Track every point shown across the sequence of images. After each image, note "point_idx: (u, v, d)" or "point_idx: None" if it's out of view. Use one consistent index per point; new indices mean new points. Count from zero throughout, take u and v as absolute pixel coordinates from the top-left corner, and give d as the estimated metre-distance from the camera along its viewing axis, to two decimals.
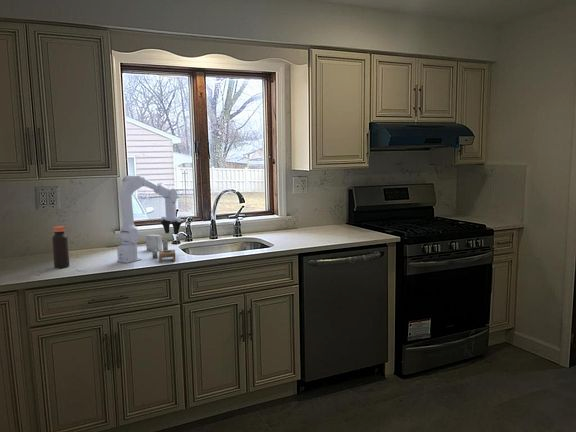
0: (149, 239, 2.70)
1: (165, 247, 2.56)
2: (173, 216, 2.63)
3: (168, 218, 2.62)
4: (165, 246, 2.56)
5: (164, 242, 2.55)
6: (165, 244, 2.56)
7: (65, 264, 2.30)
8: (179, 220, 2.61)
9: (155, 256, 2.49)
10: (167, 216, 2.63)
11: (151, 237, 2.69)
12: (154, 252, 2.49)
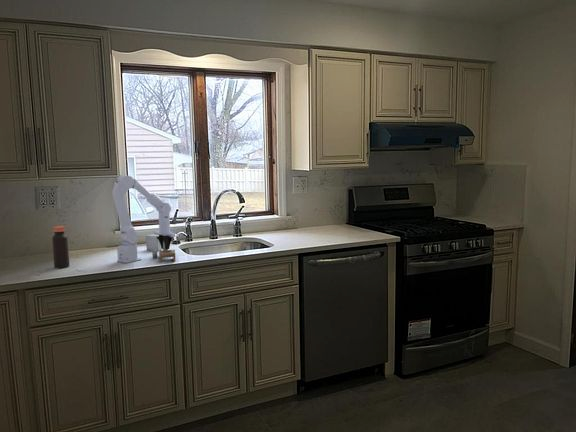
0: (149, 239, 2.70)
1: None
2: (167, 231, 2.54)
3: (162, 233, 2.53)
4: None
5: None
6: None
7: (65, 264, 2.30)
8: (173, 235, 2.52)
9: (155, 256, 2.49)
10: (161, 231, 2.53)
11: (151, 237, 2.69)
12: (154, 252, 2.49)
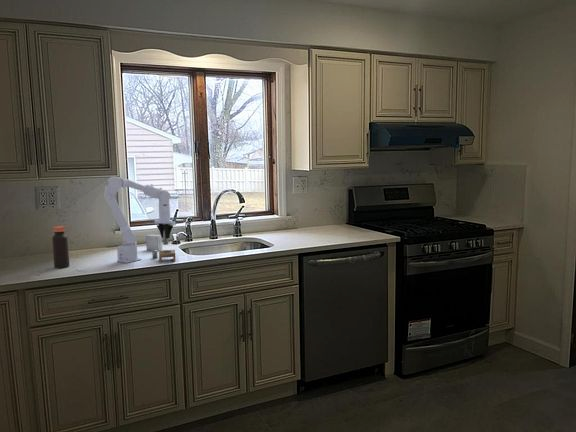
0: (149, 239, 2.70)
1: None
2: (167, 219, 2.48)
3: (162, 221, 2.47)
4: None
5: (164, 231, 2.50)
6: None
7: (65, 264, 2.30)
8: (173, 223, 2.46)
9: (155, 256, 2.49)
10: (161, 219, 2.48)
11: (151, 237, 2.69)
12: (154, 252, 2.49)
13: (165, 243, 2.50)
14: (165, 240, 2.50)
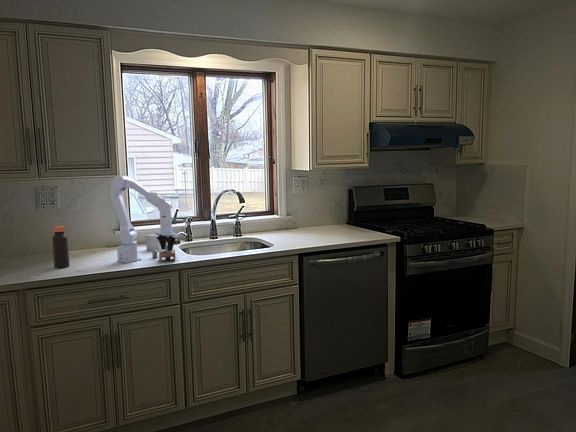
0: (149, 239, 2.70)
1: None
2: (168, 231, 2.41)
3: (163, 233, 2.40)
4: (167, 251, 2.43)
5: (166, 247, 2.43)
6: (167, 249, 2.43)
7: (65, 264, 2.30)
8: (175, 235, 2.39)
9: (155, 256, 2.49)
10: (162, 231, 2.40)
11: (151, 237, 2.69)
12: (154, 252, 2.49)
13: (167, 259, 2.43)
14: None
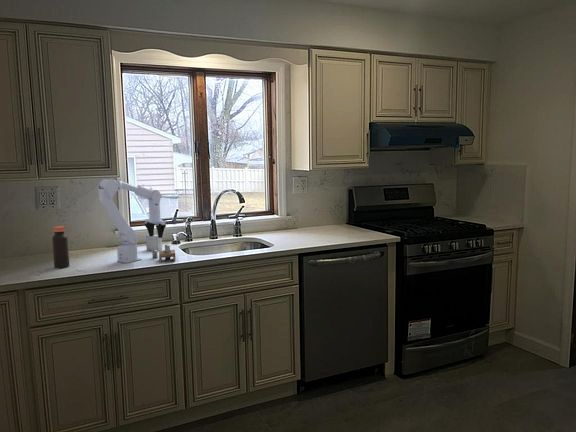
0: (149, 239, 2.70)
1: None
2: (157, 218, 2.51)
3: (152, 221, 2.50)
4: (167, 251, 2.43)
5: (166, 246, 2.43)
6: (167, 249, 2.43)
7: (65, 264, 2.30)
8: (163, 223, 2.49)
9: (155, 256, 2.49)
10: (151, 218, 2.51)
11: (151, 237, 2.69)
12: (154, 252, 2.49)
13: (167, 259, 2.43)
14: None
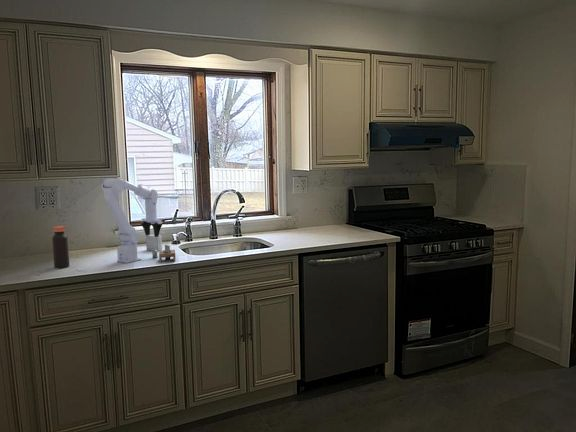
0: (149, 239, 2.70)
1: None
2: (153, 218, 2.54)
3: (148, 220, 2.54)
4: (167, 251, 2.43)
5: (166, 246, 2.43)
6: (167, 249, 2.43)
7: (65, 264, 2.30)
8: (159, 222, 2.52)
9: (155, 256, 2.49)
10: (147, 218, 2.54)
11: (151, 237, 2.69)
12: (154, 252, 2.49)
13: (167, 259, 2.43)
14: None
